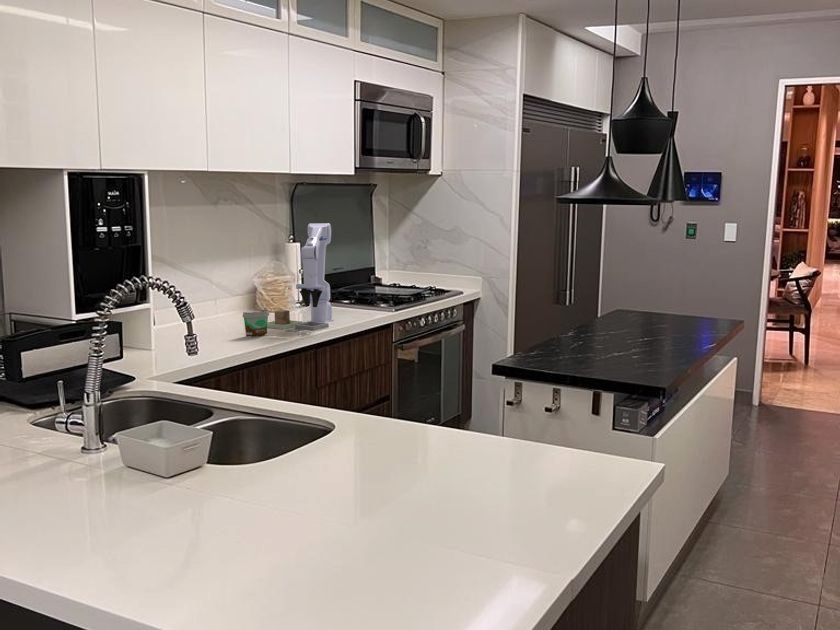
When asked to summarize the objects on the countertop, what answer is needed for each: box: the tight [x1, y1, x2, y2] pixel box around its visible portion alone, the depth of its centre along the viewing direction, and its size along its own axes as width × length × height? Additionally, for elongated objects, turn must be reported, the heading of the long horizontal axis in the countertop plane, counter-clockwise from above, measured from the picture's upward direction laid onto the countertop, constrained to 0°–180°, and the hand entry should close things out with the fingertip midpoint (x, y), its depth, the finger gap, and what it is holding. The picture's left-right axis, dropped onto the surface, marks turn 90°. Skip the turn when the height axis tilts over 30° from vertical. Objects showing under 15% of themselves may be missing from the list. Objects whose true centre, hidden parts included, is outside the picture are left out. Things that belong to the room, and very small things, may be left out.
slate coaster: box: [284, 328, 304, 333], centre depth 346 cm, size 6×6×1 cm
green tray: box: [267, 320, 303, 330], centre depth 357 cm, size 12×12×2 cm
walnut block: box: [274, 309, 291, 325], centre depth 357 cm, size 4×4×6 cm
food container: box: [242, 308, 270, 338], centre depth 337 cm, size 12×6×10 cm, turn 143°
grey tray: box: [294, 321, 329, 332], centre depth 352 cm, size 10×10×2 cm
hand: (311, 306), depth 351 cm, fingers open, 3 cm apart
